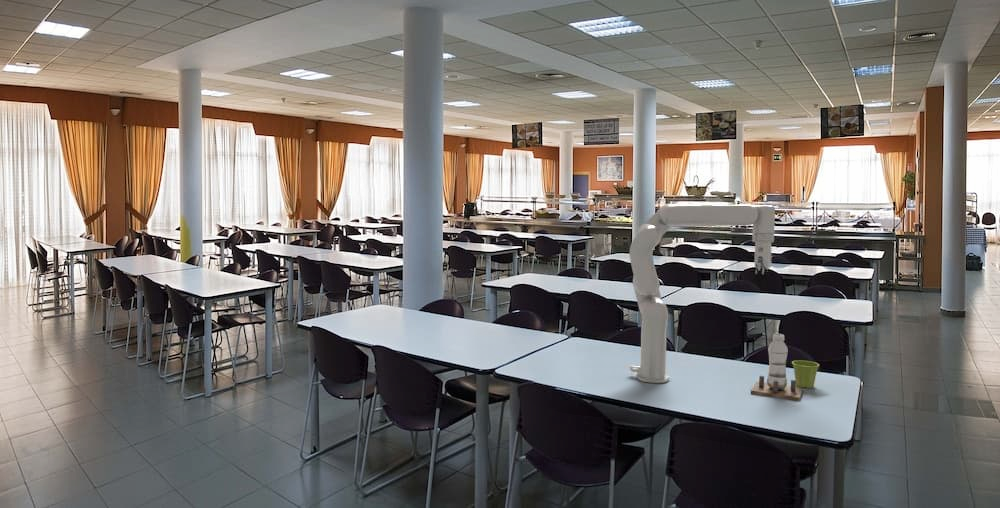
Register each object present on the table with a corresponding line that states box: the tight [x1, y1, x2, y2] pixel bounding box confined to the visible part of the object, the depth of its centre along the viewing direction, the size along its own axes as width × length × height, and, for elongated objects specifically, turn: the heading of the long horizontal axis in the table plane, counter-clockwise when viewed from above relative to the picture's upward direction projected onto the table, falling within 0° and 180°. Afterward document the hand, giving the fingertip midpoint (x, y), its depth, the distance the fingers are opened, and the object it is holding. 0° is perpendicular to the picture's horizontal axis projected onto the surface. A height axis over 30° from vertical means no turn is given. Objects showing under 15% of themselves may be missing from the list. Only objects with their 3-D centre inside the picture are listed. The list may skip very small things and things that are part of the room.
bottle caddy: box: [750, 375, 804, 402], centre depth 230 cm, size 16×13×5 cm
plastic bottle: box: [766, 333, 789, 390], centre depth 229 cm, size 6×7×20 cm
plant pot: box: [791, 360, 820, 389], centre depth 238 cm, size 9×9×9 cm
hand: (761, 283), depth 239 cm, fingers open, 9 cm apart
